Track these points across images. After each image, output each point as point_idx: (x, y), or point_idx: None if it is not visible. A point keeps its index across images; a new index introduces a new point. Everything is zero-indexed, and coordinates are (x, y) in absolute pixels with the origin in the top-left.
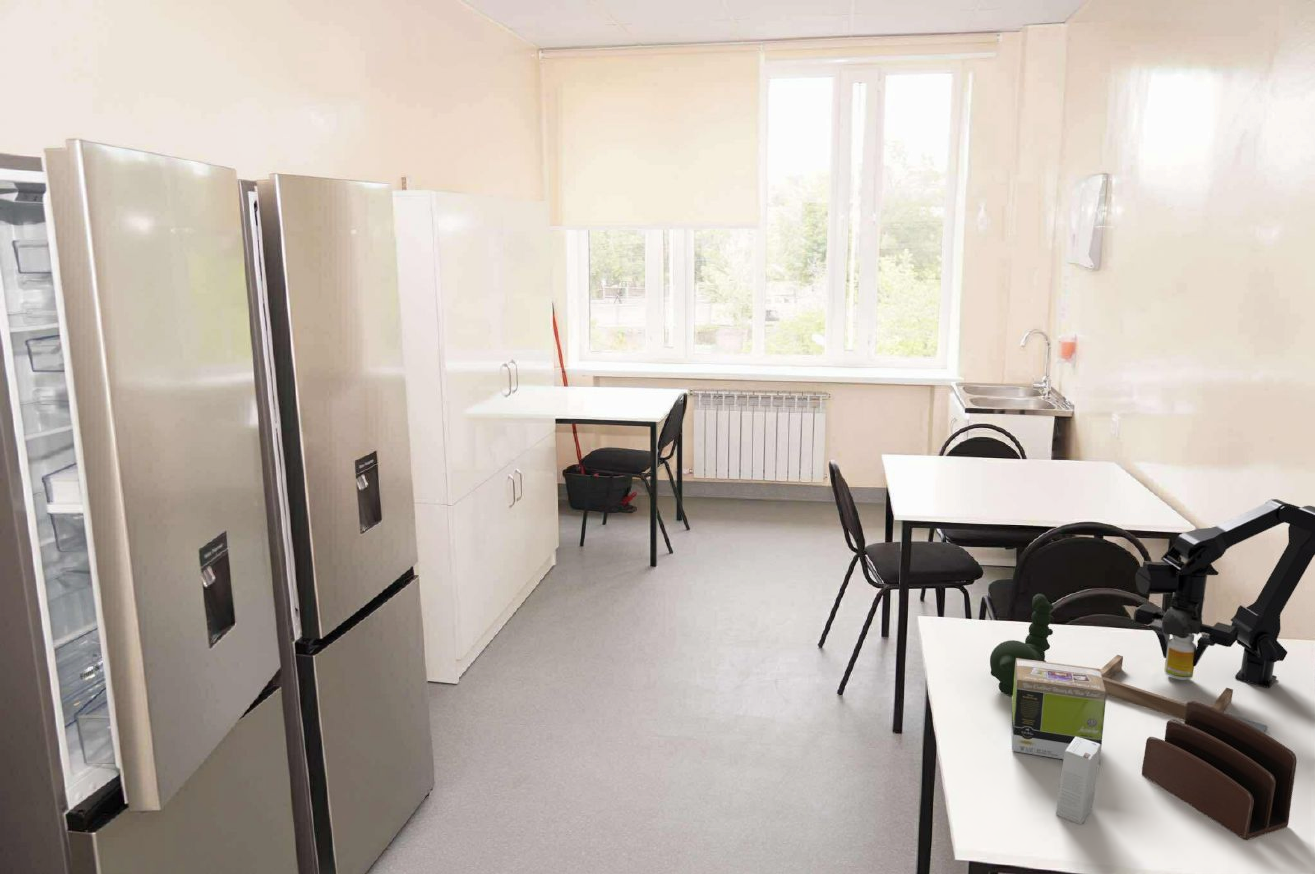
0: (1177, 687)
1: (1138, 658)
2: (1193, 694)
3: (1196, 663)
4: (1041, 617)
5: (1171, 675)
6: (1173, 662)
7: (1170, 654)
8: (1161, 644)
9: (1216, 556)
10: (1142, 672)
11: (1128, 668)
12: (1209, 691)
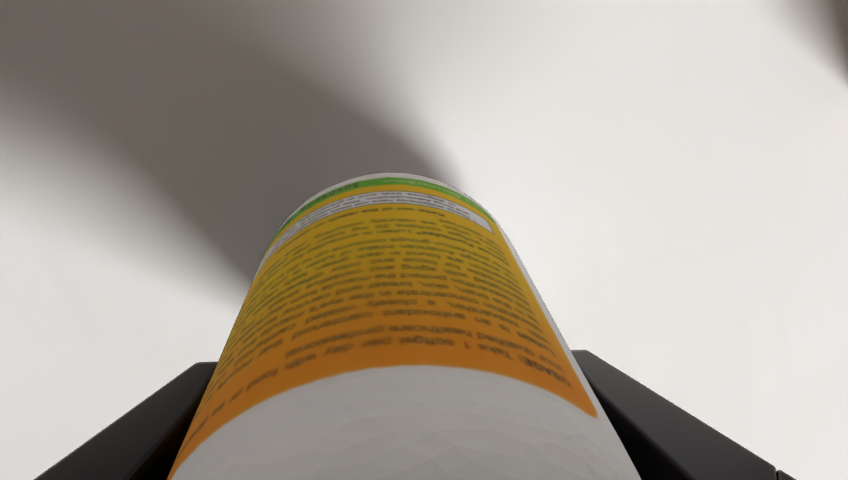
0: (325, 70)
1: (733, 406)
2: (142, 15)
3: (162, 387)
4: None
5: (424, 179)
6: (437, 243)
7: (520, 316)
8: (737, 457)
9: None
10: (676, 170)
11: (799, 162)
12: (77, 211)
